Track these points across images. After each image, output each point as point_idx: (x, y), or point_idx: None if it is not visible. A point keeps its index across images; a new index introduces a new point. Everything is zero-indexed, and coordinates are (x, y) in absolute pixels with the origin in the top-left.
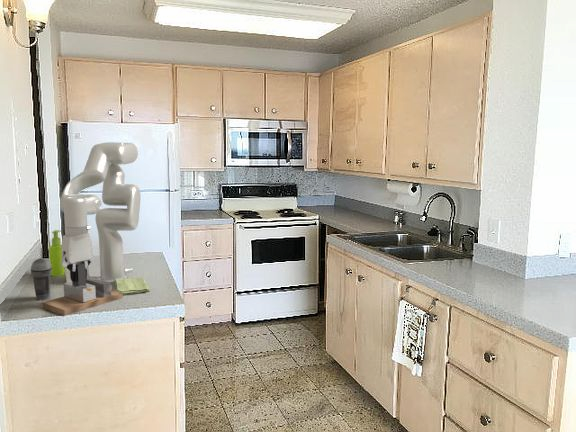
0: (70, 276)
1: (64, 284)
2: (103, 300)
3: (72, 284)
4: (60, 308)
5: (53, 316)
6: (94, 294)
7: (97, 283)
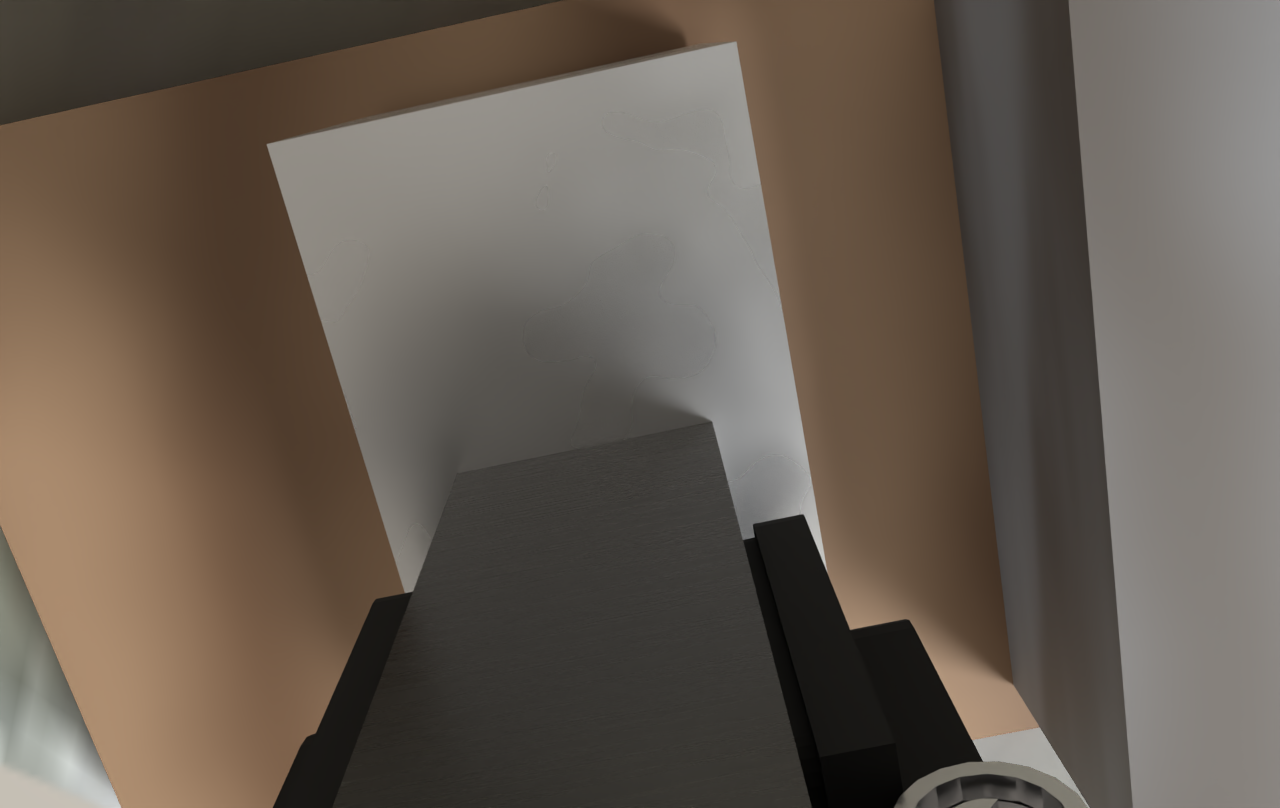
0: (287, 792)
1: (291, 189)
2: None
3: (457, 483)
4: (115, 787)
5: (33, 750)
6: None
7: (1109, 642)
